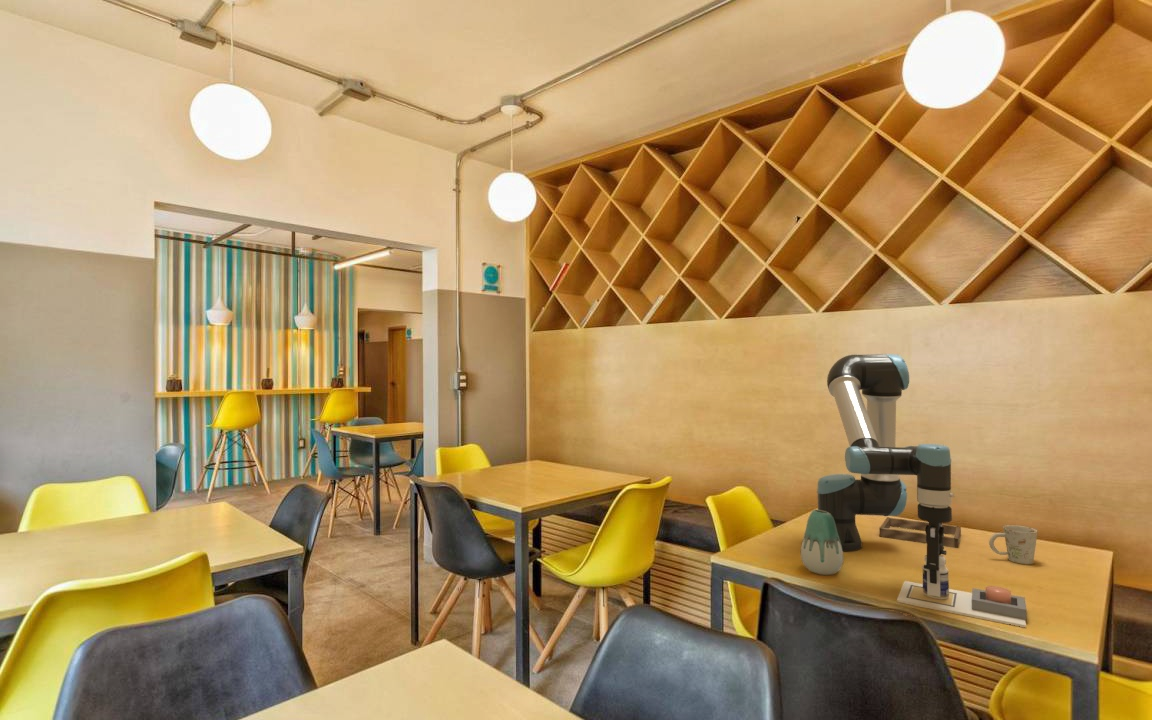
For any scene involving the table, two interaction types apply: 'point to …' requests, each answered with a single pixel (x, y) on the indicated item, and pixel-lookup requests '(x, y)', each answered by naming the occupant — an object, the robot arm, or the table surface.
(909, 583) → the white base plate
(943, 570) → the pill bottle
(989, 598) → the button
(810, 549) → the vase
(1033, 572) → the table surface
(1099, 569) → the table surface
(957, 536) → the book tray
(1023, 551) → the mug
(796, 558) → the table surface
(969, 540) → the table surface
